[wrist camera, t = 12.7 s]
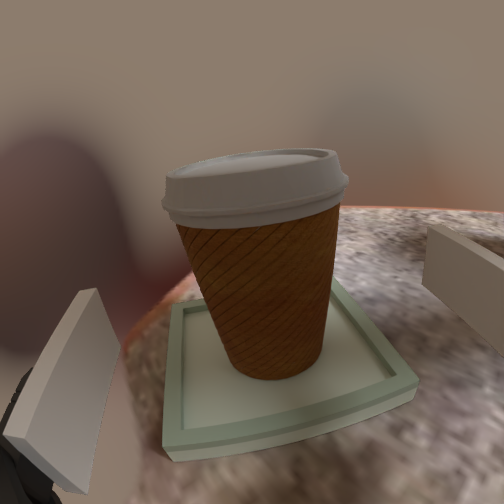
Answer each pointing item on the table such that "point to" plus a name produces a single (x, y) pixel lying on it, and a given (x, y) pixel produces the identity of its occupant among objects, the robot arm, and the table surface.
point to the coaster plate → (275, 385)
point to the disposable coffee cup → (262, 251)
